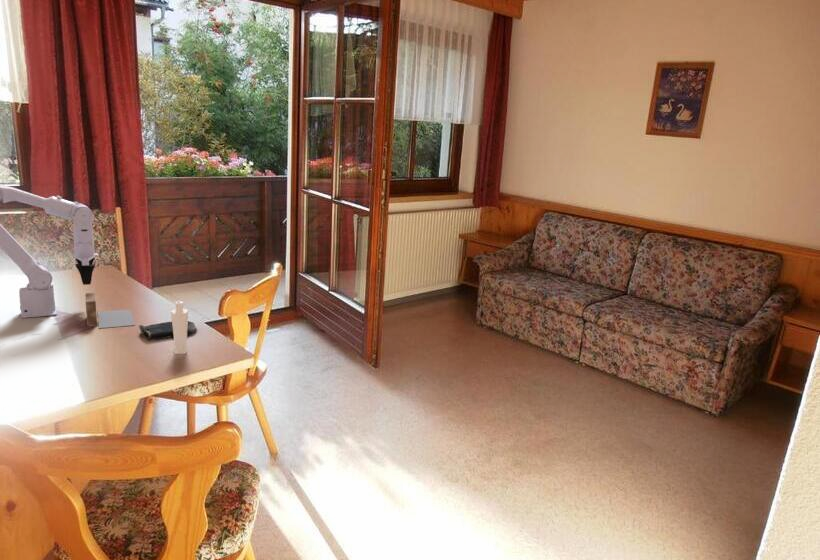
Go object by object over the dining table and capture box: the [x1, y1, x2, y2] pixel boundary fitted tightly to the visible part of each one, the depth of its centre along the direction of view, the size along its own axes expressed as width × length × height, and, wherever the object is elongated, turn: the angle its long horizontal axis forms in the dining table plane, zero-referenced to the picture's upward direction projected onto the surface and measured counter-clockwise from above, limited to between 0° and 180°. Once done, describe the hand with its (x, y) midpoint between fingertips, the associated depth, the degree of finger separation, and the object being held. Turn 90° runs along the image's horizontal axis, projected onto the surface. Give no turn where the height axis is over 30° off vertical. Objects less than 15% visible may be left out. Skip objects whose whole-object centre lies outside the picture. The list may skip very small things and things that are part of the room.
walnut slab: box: [85, 292, 98, 326], centre depth 181 cm, size 3×9×8 cm, turn 29°
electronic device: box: [138, 320, 198, 341], centre depth 177 cm, size 10×6×15 cm
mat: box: [97, 308, 136, 330], centre depth 186 cm, size 10×16×1 cm, turn 29°
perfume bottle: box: [170, 300, 189, 355], centre depth 163 cm, size 5×4×15 cm
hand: (86, 281), depth 191 cm, fingers open, 7 cm apart
